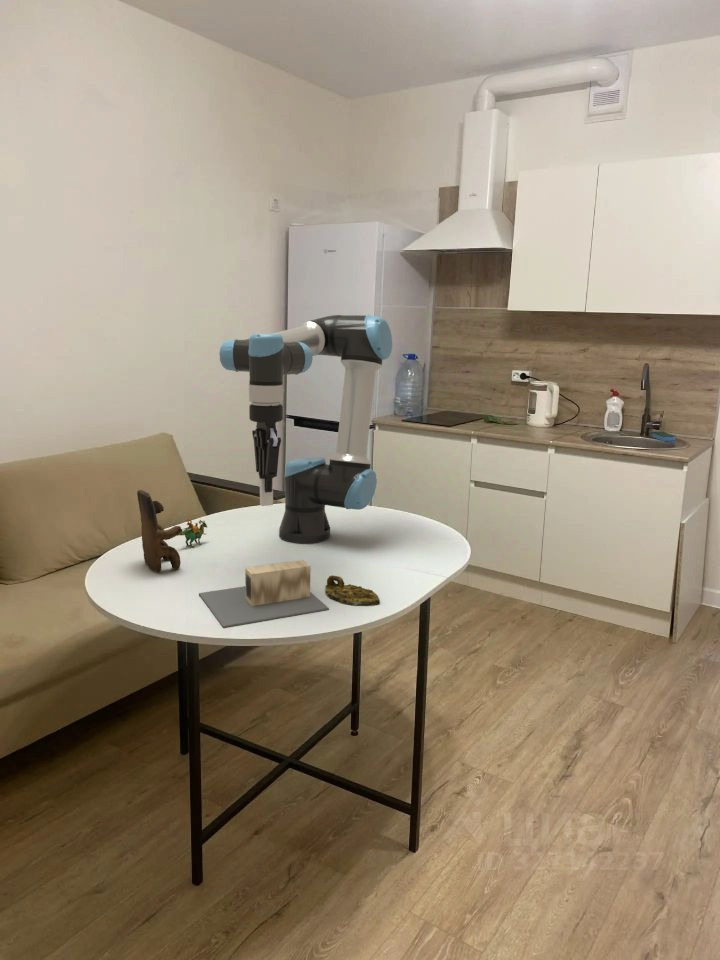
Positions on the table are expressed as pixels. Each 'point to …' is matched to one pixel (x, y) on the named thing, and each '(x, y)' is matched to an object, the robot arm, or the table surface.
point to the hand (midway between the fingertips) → (266, 504)
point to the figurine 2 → (193, 532)
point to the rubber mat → (255, 607)
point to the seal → (349, 593)
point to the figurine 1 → (156, 534)
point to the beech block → (277, 582)
